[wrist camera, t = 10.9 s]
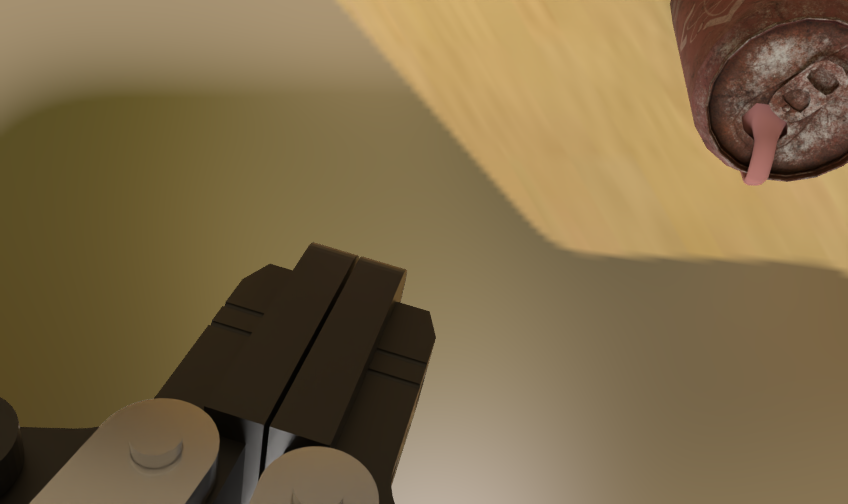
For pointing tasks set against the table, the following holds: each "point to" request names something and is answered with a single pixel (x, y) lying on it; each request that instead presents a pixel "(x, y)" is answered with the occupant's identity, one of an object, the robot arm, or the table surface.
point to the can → (767, 83)
